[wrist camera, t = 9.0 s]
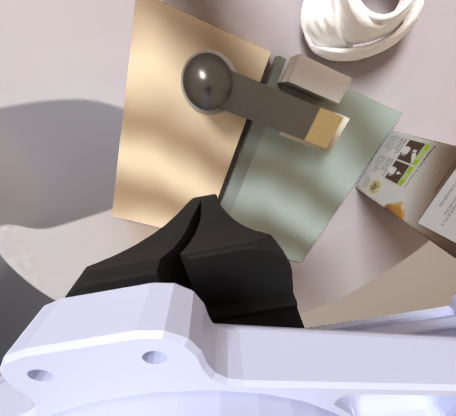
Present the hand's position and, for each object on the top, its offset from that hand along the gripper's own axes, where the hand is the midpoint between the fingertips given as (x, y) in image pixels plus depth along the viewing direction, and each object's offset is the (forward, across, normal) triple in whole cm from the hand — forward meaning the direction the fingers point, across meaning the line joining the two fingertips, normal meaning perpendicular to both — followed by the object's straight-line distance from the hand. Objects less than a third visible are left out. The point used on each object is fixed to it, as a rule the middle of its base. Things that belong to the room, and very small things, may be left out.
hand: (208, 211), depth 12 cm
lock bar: (+8, -5, -4) cm, 11 cm away
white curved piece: (+10, -12, -9) cm, 19 cm away
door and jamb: (+10, -3, +1) cm, 10 cm away
